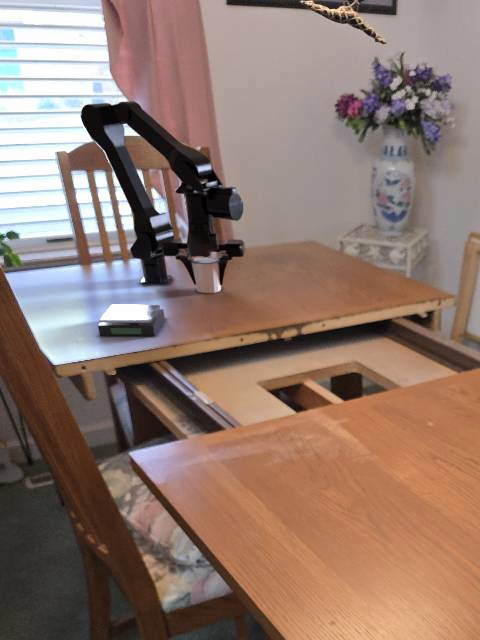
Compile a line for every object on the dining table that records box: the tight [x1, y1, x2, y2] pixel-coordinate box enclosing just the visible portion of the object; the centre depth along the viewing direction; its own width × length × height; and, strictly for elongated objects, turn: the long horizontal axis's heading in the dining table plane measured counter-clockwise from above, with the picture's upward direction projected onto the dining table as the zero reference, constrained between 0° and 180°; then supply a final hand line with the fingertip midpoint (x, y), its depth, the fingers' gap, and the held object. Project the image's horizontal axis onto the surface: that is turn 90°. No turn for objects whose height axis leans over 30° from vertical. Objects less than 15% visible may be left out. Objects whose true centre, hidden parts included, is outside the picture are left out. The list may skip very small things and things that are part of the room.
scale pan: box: [99, 304, 161, 323], centre depth 148 cm, size 10×10×1 cm
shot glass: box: [191, 256, 222, 294], centre depth 171 cm, size 7×7×7 cm
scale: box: [97, 308, 166, 337], centre depth 149 cm, size 11×11×3 cm
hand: (208, 284), depth 173 cm, fingers closed on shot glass, 6 cm apart
